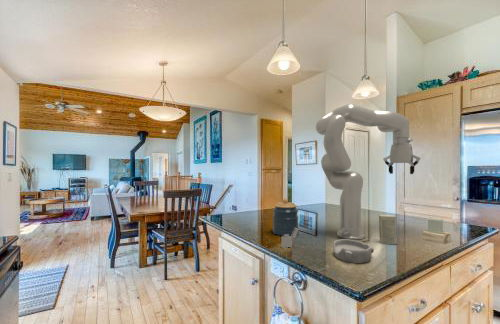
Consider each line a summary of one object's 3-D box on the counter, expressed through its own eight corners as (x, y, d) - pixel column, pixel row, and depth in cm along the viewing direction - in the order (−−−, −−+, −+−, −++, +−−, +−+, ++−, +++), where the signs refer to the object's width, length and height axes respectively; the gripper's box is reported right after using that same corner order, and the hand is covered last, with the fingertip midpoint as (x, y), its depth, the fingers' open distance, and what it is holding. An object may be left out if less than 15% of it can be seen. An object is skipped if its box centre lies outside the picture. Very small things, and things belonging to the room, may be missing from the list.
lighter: (282, 248, 104) (282, 228, 104) (281, 246, 106) (281, 227, 106) (298, 247, 105) (298, 228, 105) (297, 246, 107) (297, 227, 107)
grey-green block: (441, 234, 113) (441, 220, 113) (428, 232, 116) (428, 219, 117) (442, 231, 117) (442, 219, 117) (429, 230, 120) (429, 217, 120)
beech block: (443, 244, 110) (442, 235, 111) (422, 240, 117) (422, 231, 117) (450, 241, 115) (450, 233, 115) (431, 237, 121) (430, 229, 122)
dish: (352, 267, 85) (352, 252, 85) (324, 254, 98) (324, 241, 98) (382, 260, 91) (382, 247, 91) (352, 249, 103) (352, 237, 103)
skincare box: (394, 242, 113) (394, 214, 113) (396, 244, 109) (396, 216, 109) (378, 240, 115) (378, 213, 115) (380, 243, 111) (380, 215, 111)
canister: (302, 232, 129) (302, 198, 130) (292, 238, 118) (292, 200, 119) (279, 229, 136) (279, 196, 136) (268, 234, 125) (268, 199, 126)
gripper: (421, 141, 130) (422, 174, 130) (385, 143, 143) (386, 173, 142) (418, 139, 125) (418, 174, 125) (381, 142, 137) (381, 173, 137)
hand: (401, 173), depth 133 cm, fingers open, 9 cm apart
